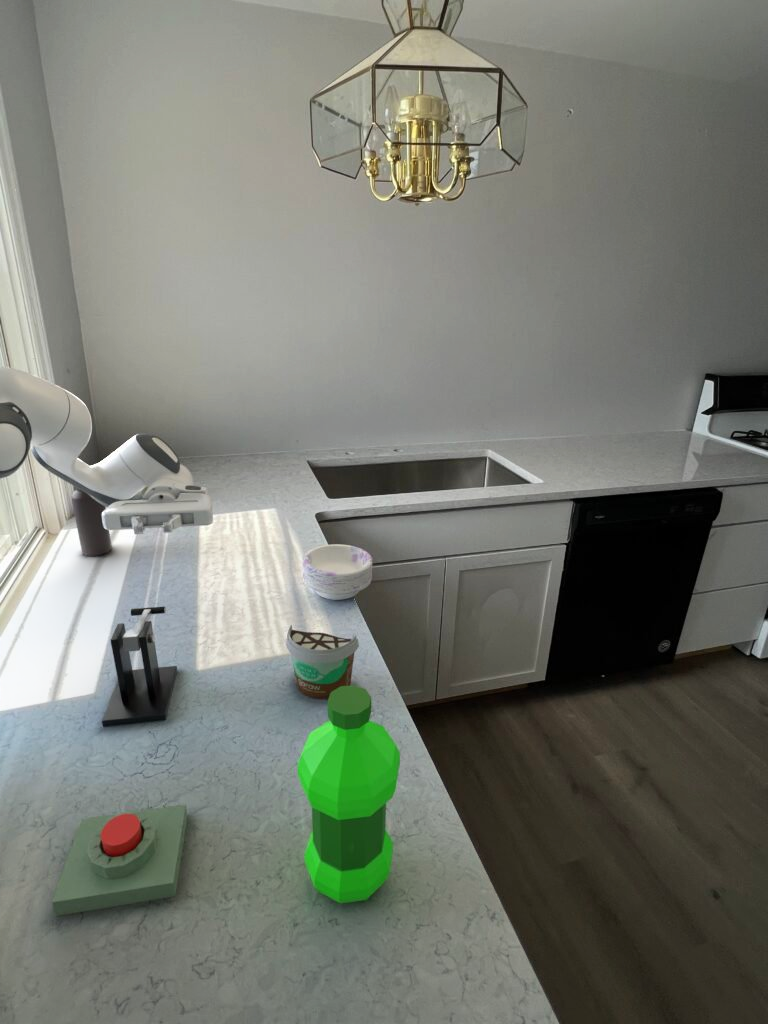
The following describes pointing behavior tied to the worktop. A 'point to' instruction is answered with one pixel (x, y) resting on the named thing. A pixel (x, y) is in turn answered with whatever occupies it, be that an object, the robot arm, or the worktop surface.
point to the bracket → (139, 683)
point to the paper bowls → (337, 570)
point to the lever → (139, 627)
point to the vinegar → (90, 524)
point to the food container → (321, 661)
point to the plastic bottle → (349, 798)
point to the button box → (123, 863)
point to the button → (121, 835)
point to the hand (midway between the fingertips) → (152, 529)
